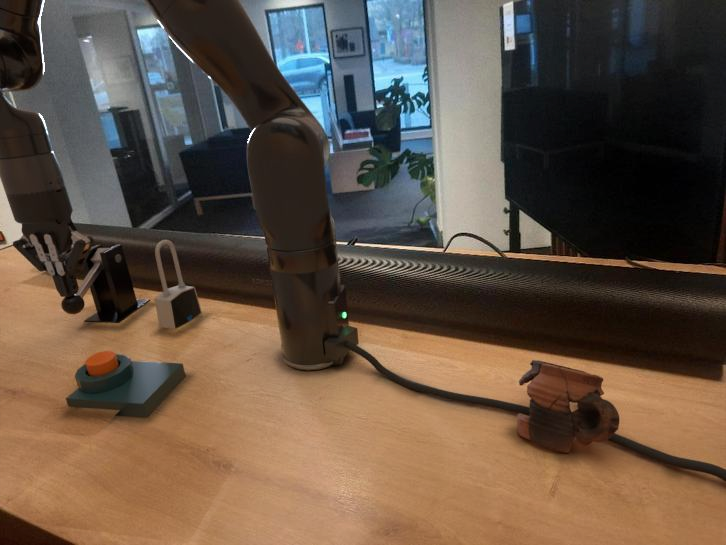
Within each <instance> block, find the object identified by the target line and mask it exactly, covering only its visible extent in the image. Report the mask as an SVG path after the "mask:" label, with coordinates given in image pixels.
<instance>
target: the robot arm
mask: <svg viewBox="0 0 726 545" xmlns="http://www.w3.org/2000/svg"><path fill="white" fill-rule="evenodd" d="M143 2H144V3H145V5H146V7H148V10H150V12H151V14H152V15H153V16H154V17H155V19H156V20H157V22H158V23H159V25H160V26H161V28H162V29H163V31H164V32H165V33H166V34H167V35H168V37H169V38H170V39H171V40H172V42H173V43H174V44H175V45H176V47H177V48H178V49H179V50H180V51H181V52H182V53H183V54H184V55H185V56H186V57H187V58H188V59H189V60H190V61H191V62H192V63H193V64H194V65H195V66H196V67H197V68H198V69H199V70H201V72H203V73H204V74H205V75H206V76H207V77H208V78H209V79H210V80H211V81H212V82H213V83H214V84H215V85H216V86H217V87H219V89H220V90H221V91H222V92H223V93H224V94H225V95H226V96H227V97H228V99H229V100H230V101H231V102H232V103H233V105H234V106H235V108H236V109H237V111H238V112H239V115H241V117H242V119H243V121H244V122H245V124H246V125H247V128H248V129H249V130H250V132H251V133H250V135H249V138H248V139H247V140H248V141H247V145H246V166H247V173H248V179H249V185H250V191H251V194H252V200H253V205H254V210H255V215H256V219H257V223H258V225H259V227H260V229H261V231H262V233H263V235H264V238H265V239H264V240H265V246H266V252H267V258H268V266H269V273H270V279H271V285H272V292H273V298H274V305H275V311H276V312H275V313H276V317H277V324H278V332H279V336H280V343H281V344H280V345H281V355H282V360H283V362H284V364H286V365H287V366H289V367H290V368H292V369H296V370H300V371H316V370H322V369H326V368H329V367H332V366H342V365H343V362H344V360H345V358H346V356H347V354H348V352H350V351H351V352H353V353H355V354H356V355H359V356H360V357H362V358H363V359H365V360H366V361H367V362H368V363H370V365H372V366H373V368H374V369H375V370H376V371H377V372H379V373H380V374H381V375H382V376H383V377H385V378H387V379H389V380H390V381H392V382H394V383H396V384H398V385H401V386H403V387H405V388H407V389H411V390H414V391H417V392H420V393H424V394H426V395H431V396H434V397H437V398H441V399H445V400H448V401H453V402H459V403H465V404H470V405H477V406H482V407H488V408H494V409H499V410H502V411H508V412H510V413H511V412H512V413H515V414H520V413H522V414H524V415H527V416H530V412H529V411H530V406H526V405H521V404H517V403H513V402H508V401H504V400H499V399H494V398H489V397H484V396H476V395H469V394H464V393H458V392H453V391H449V390H445V389H440V388H437V387H434V386H430V385H426V384H422V383H419V382H416V381H412V380H409V379H407V378H405V377H402V376H401V375H398V374H396V373H394V372H393V371H391V370H390V369H388V368H386V367H385V366H384V365H383V364H382V363H381V362H380V361H378V359H377V358H376V357H375V356H374V355H372V354H371V353H369V352H368V351H367V350H366V349H364V348H362V347H360V346H359V342H360V341H359V332H358V327H355V326H351V325H350V323H349V312H348V301H347V291H346V286H345V285H344V284H341V274H340V266H339V256H338V246H337V234H336V224H335V223H336V222H335V219H334V216H333V215H332V212H331V209H330V208H331V207H330V203H329V195H328V186H327V177H326V168H327V166H328V163H329V161H330V157H331V145H330V140H329V137H328V134H327V132H326V130H325V128H324V127H323V125H322V124H321V122H320V121H319V120H318V119H317V117H316V116H315V115H314V114H313V113H312V111H311V110H310V108H308V106H307V105H306V103H305V102H304V101H303V100H302V98H301V97H300V96H299V95H298V94H297V92H296V91H295V90H294V88H293V87H292V85H291V84H290V83H289V81H288V80H287V79H286V78H285V76H284V75H283V73H282V72H281V70H280V69H279V68H278V66H277V64H276V63H275V61H274V60H273V58H272V56H271V54H270V52H269V51H268V48H267V47H266V44H265V43H264V41H263V40H262V37H261V36H260V34H259V32H258V29H256V26H255V25H254V23H253V22H252V20H251V18H250V16H249V15H248V13H247V11H246V9H245V7H244V6H243V4H242V3H241V1H240V0H143ZM44 3H45V0H0V31H2V32H1V35H0V181H1V184H2V187H3V190H4V193H5V195H6V198H7V199H6V200H7V202H8V205H9V208H10V211H11V213H12V216H13V219H14V222H16V223H17V224H21V233H22V236H21V237H20V238H19V239H17V240H14V241H13V242H12V246H13V248H15V250H17V251H18V253H19V254H20V255H22V256H23V257H24V258H25V259H26V260H27V261H28V262H29V263H30V264H31V265H32V266H33V267H34V268H35V269H36V270H37V271H39V272H41V273H42V272H46V273H48V275H50V276H51V277H52V280H53V283H54V286H55V289H56V291H57V293H58V294H59V296H60V297H61V298H65V297H71V296H73V295H75V294H76V293H77V292H78V290H79V286H80V285H79V284H78V280H77V277H76V274H75V271H76V270H78V269H79V268H82V267H83V266H84V264H85V261H86V259H87V256H88V254H89V252H90V249H91V247H93V244H94V242H95V240H94V238H93V236H91V235H88V236H84V235H83V234H82V233H80V232H78V228H77V225H76V224H75V223H74V221H73V219H72V214H73V206H72V203H71V202H72V201H71V199H70V196H69V192H68V190H67V189H68V188H67V186H66V182H65V178H64V175H63V172H62V168H61V166H60V163H59V161H58V159H57V156H56V155H55V153H54V149H53V145H52V142H51V139H50V136H49V132H48V128H47V124H46V122H45V120H44V118H43V116H42V115H41V114H40V113H39V112H38V111H34V110H31V109H23V108H22V109H21V108H17V107H15V106H13V105H12V103H11V102H10V101H9V100H8V98H6V96H5V95H4V93H12V92H26V91H31V90H33V89H34V88H36V87H37V86H38V85H39V83H40V82H41V81H42V79H43V76H44V72H45V62H44V61H45V60H44V54H43V41H42V30H41V16H42V12H43V9H44ZM607 441H609V442H610V443H613V444H616V445H618V446H621V447H622V448H625V449H627V450H631V451H632V452H635V453H637V454H640V455H642V456H644V457H647V458H649V459H652V460H655V461H658V462H660V463H662V464H665V465H668V466H671V467H674V468H679V469H683V470H687V471H694V472H699V473H704V474H707V475H710V476H714V477H717V478H719V479H720V480H722V481H724V482H726V468H723V467H721V466H719V465H716V464H713V463H709V462H706V461H700V460H695V459H690V458H684V457H679V456H675V455H673V454H669V453H666V452H663V451H660V450H657V449H655V448H653V447H650V446H647V445H644V444H642V443H639V442H638V441H634V440H632V439H630V438H628V437H626V436H622V435H620V434H617V433H616V432H615V433H614V435H613V436H612V437H611V438H609V439H608V440H607Z"/></svg>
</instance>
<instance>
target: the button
mask: <svg viewBox="0 0 726 545" xmlns="http://www.w3.org/2000/svg"><path fill="white" fill-rule="evenodd" d="M116 354H117V353H116V352H115V351H113V350H104V351H100V352H96V353H94V354H92V355H89V357H87V358H86V359H85V361H84V364H86V367H87V371H88V374H89V375H90V376H100V375H105V374H107V373H110V372H112V371H114V370H115V369H117V368H118V366H119V364H118V361H117V357H116Z"/></svg>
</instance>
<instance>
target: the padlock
mask: <svg viewBox="0 0 726 545" xmlns="http://www.w3.org/2000/svg"><path fill="white" fill-rule="evenodd" d="M164 245H167V246H168V247H169V249H170V252H171V256H172V260H173V264H174V268H175V272H176V276H177V281H178V283H177V285H175V286H172V287H169V288H168V284H167V280H166V276H165V271H164V267H163V263H162V258H161V248H162V247H163V246H164ZM154 255H155V261H156V265H157V270H158V274H159V278H160V279H159V280H160V282H161V283H160V284H161V287H162V292H161V293H159V294H158V295H157V296H156V297H154V304H155V309H156V315H157V316H156V317H157V321H158V326H159V327H158V328H164V329H169V330H176V329H178V328H179V327H182V326H183V325H185V324H188V323H189V322H191V321H192V320H194V319H195V318H196V317H197V316H199V315H200V314H202V313H203V310H202V307H201V304H200V300H199V296H198V293H197V290H196V287H195V286H190V285H186V284H185V282H184V280H183V276H182V272H181V266H180V262H179V258H178V254H177V251H176V247H175V245H174V243H173V241H171V240H169V239H162V240H160V241H159V242H158V243H157V244H156V246H155V249H154Z"/></svg>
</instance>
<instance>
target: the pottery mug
mask: <svg viewBox="0 0 726 545" xmlns="http://www.w3.org/2000/svg"><path fill="white" fill-rule="evenodd" d="M529 365H530V366H531V368H530V369H529V370H528V371H526V372H525V373H524V374H523V375H521V378H520V379H519V380H518V385H519V386H523V385H525V384H527V386H526V394H527V396H528V397H529V405H528V407H530V411H529V412H530V416H528V415H524V414H522V413H520V414H519V413H517V414H516V428H517V429H516V433H517V434H518V436H520V437H521V438H523V439H525V440H528V441H531V443H534V444H538V445H539V446H540V447H544V448H546V449H550V450H552V451H555V452H560V453H565V454H569V453H570V452H571V448H572V445H573V444H574V441H575V439H576V440H577V441H578V442H579V443H580V444H581V445H583V446H589V445H592V444H593V443H604V442H605V441H608V439H609V438H611V437H612V436H613V435H614V433H615V434H616V433H617V431H618V430H619V426H620V414H619V412H618V411H619V410H618V409H617V408H616V407H615V405H614V404H613V403H612V402H611V401H609V400H608V399H604V398H602V396H603V395H604V394H605V392H604V390H603V388H602V383H603V382H604V379H605V378H603V377H601V376H599V375H597V374H591V373H588V372H587V371H583V370H580V369H576V368H571V367H568V366H564V365H559V364H556V363H550V362H547V361H542V360H535V359H533V360H531V362H530V363H529ZM570 403H574V404H575V403H577V409H575V410H574V411H572V410H571V404H570Z"/></svg>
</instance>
